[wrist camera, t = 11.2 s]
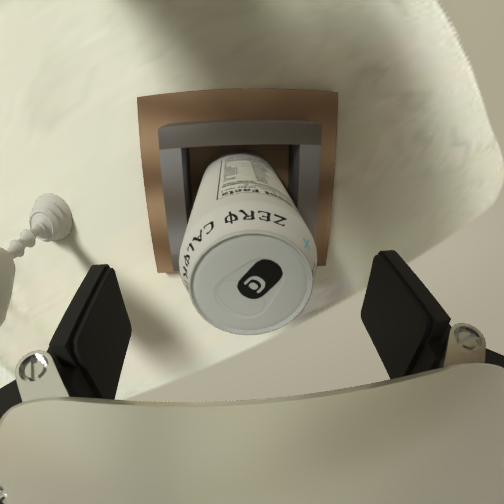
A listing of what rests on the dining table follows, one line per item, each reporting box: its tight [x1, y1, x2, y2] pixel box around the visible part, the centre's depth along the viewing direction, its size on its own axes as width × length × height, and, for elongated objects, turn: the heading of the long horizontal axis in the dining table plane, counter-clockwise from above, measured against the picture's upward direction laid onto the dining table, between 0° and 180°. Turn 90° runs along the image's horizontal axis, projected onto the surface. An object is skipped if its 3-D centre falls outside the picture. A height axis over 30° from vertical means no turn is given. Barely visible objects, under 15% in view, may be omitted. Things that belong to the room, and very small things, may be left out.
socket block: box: [137, 89, 338, 273], centre depth 24 cm, size 16×16×5 cm
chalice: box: [0, 194, 72, 326], centre depth 18 cm, size 7×7×18 cm
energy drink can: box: [179, 150, 317, 335], centre depth 19 cm, size 6×6×15 cm
